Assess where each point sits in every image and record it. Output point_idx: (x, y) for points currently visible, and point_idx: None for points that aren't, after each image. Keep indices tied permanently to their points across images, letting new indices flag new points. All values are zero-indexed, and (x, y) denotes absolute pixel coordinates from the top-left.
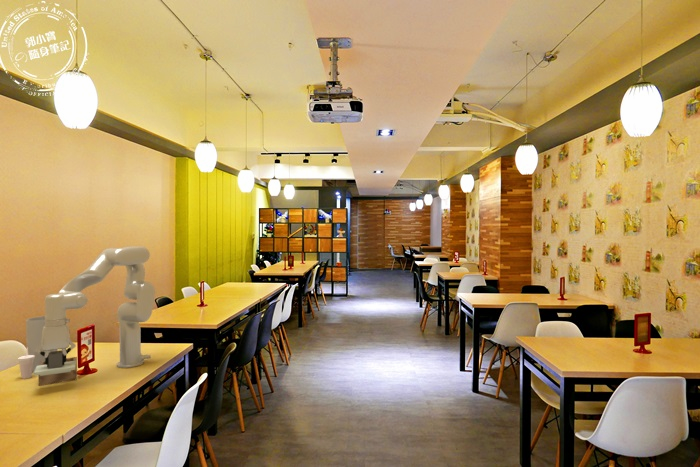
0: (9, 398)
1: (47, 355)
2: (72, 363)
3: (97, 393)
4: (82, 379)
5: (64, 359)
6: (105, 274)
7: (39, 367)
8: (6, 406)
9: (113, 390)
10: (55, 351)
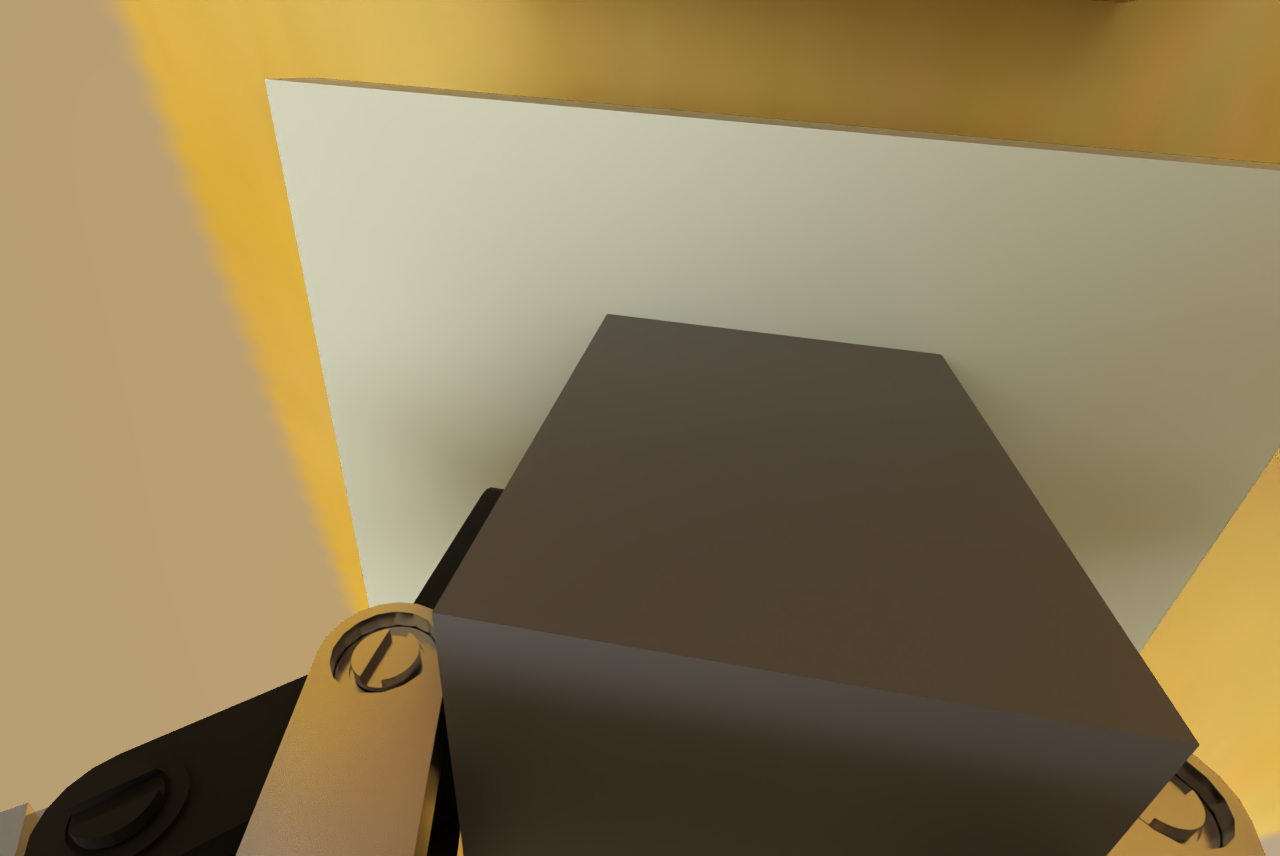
0: (285, 352)
1: (450, 851)
2: (1146, 502)
3: None
4: (1227, 40)
5: None
6: None
7: (389, 350)
8: (342, 566)
9: (1216, 772)
10: (730, 765)
